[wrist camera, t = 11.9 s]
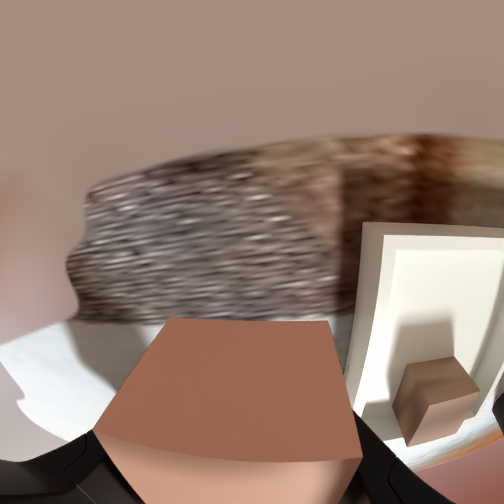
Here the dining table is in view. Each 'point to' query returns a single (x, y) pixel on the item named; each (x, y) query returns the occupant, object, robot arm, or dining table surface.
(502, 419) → the drinking cup
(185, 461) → the terracotta block
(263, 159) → the dining table surface
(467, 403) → the walnut block
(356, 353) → the tray
